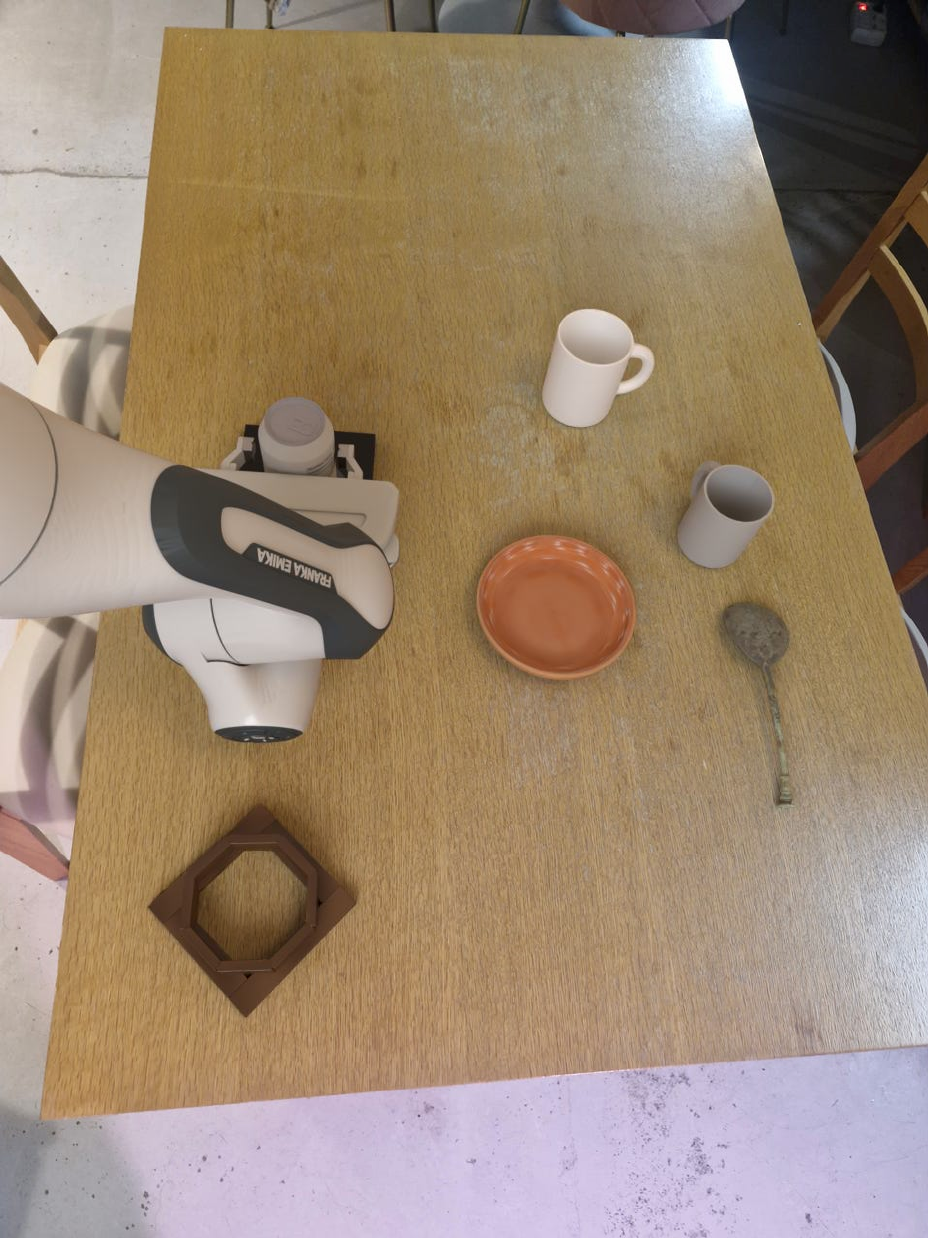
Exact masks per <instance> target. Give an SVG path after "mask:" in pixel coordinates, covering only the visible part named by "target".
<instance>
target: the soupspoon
mask: <svg viewBox="0 0 928 1238" xmlns="http://www.w3.org/2000/svg"><path fill="white" fill-rule="evenodd" d="M723 623H724V626H725V628H726V631H727V633H728V635H729V636H730V638H731V639H732V641H733V642H734V644H735V645H736V646H737V647H738V648H739V649H740V651H741V652H742V653H744V654H745V655H746V656H747V657H748V658H749V659H750V660H751V661H752V662H754V663H755V664H757V665H758V666H759V667H760V670H761V672H762V676H763V680H764V684H765V685H764V686H765V688H766V694H767V699H768V703H769V709H770V714H771V718H772V724H773V730H774V734H775V735H774V736H775V741H776V747H777V754H778V760H779V766H780V771H781V772H780V775H779V778H780V779H781V783H780V786H779V789H780V795H779V800H780V801H781V802H779V803H778V804H776V805H775V806H776V807H777V808H781V809H782V808H784V809H795V808H798V806H797V804H794V803H792V801H793V800H794V798H793V796H792V787H791V784H790V782H789V781H790V780H791V776H790V775H789V767H788V759H787V753H786V752H787V751H786V745H785V744H786V743H785V739H784V738H785V737H784V733H783V727H782V720H781V716H780V715H781V714H780V710H779V703H778V698H777V691H776V686H775V682H774V681H775V680H774V677H773V673H772V672H773V671H772V669H771V668H772V666H774V665H775V664H777V663H778V662H780V661H781V659H782V658H783V657H784V655H785V654H786V652H787V650H788V649H789V646H790V640H791V637H790V632H789V628H788V626H787V624H786V621H784V620H783V618H782V617H781V616H780V615H779V614H778V613H777V612H776V611H774V610H772V609H771V608H768V607H766V606H764V605H761V604H758V603H756V602H755V603H754V602H738V603H735V604H731V605H730V606H727V608H726V609H725V610H724V612H723Z"/></svg>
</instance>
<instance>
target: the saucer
mask: <svg viewBox="0 0 928 1238" xmlns="http://www.w3.org/2000/svg"><path fill="white" fill-rule="evenodd" d="M475 608H476V615H477V619H478V622H479V626H480V628H481V631H482V632H483V635H484V637H485V638H486V640H487V642H488V643H489V644H490V646H491V647H492V648H493V649H494V650H495V652H496V653H497V654H498V655H499V656H501V658H503V659H504V660H505V661H506V662H508V663H509V664H510V665H512V666H514V667H515V668H517V669H519V670H521V671H523V672H525V673H527V674H530V675H532V676H535V677H538V678H542V679H547V680H555V681H570V680H579V679H583V678H587V677H589V676H593V675H595V674H597V673H599V672H602V671H603V670H605V669H606V668H607V667H609V666H610V665H611V664H613V663H614V662H615V661H616V660H617V659H618V658H619V657H620V656H621V655H622V654H623V652H625V650H626V648H627V647H628V645H629V644H630V641H631V639H632V637H633V634H634V631H635V628H636V621H637V605H636V599H635V595H634V593H633V589H632V587H631V584H630V582H629V580H628V579H627V576H626V575H625V574H624V572H623V571H622V569H621V568H620V567H619V566H618V564H617V563H616V562H615V561H614V560H613V559H611V557H609V556H608V555H607V554H605V552H603V551H602V550H600V549H598V547H595V546H593V545H591V544H589V543H587V542H585V541H583V540H580V539H576V538H574V537H569V536H565V535H557V534H539V535H533V536H528V537H524V538H521V539H518V540H516V541H514V542H512V543H510V544H507V546H505V547H503V548H502V549H500V550H499V551H498V552H497V553H495V554H494V555H493V557H491V558H490V560H489V561H488V562H487V564H486V565H485V567H484V569H483V571H482V572H481V574H480V577H479V579H478V583H477V587H476V591H475Z"/></svg>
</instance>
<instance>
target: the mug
mask: <svg viewBox="0 0 928 1238" xmlns="http://www.w3.org/2000/svg"><path fill="white" fill-rule="evenodd" d="M633 335H634V334H633V332H632V330H631V329H630V327H629V326H628V325H627V324H626V322H625V321H624V320H622V318H619V317H618V316H617V315H615V314H613V313H611V312H609V311H606V310H603V309H597V308H583V309H577V310H575V311H572V312H571V313H568V314H567V315H565V317H564V318H563V319H562V320H561V321H560V323H559V325H558V328H557V332H556V336H555V338H554V343H553V346H552V350H551V355H550V357H549V358H550V359H549V361H548V365H547V370H546V374H545V378H544V381H543V385H542V392H541V400H542V403H543V406H544V408H545V410H546V412H547V413H548V414H549V416H551V417H552V418H553V419H554V420H556V421H557V422H559V423H561V424H562V425H566V426H568V427H573V428H589V427H593V426H595V425H597V424H599V423H600V422H602V421H603V420H604V419H605V418H606V417H607V416H608V414H609V412H610V411H611V409H612V407H613V404H614V401H615V399H616V396H617V395H624V394H628V393H631V392H633V391H636V390H638V388H640V387H641V386H643V385H644V384H645V383H646V382H647V381H648V380H649V378H650V377H651V375H652V373H653V371H654V368H655V356H654V353H653V352H652V350H651V349H650V348H649V347H647V346H645V345H644V344H642V343H639V342H638V343H637V342H635V339H634V336H633ZM630 358H631V359H633V358H634V359H640V360H641V362H642V364H641V368H640V370H639V371H638V372H637V374H635V375H634V376H633V377H631V378H629V379H627V380H624V381H623V380H622V379H623V377H624V374H625V371H626V369H627V366H628V363H629V361H630Z"/></svg>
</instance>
